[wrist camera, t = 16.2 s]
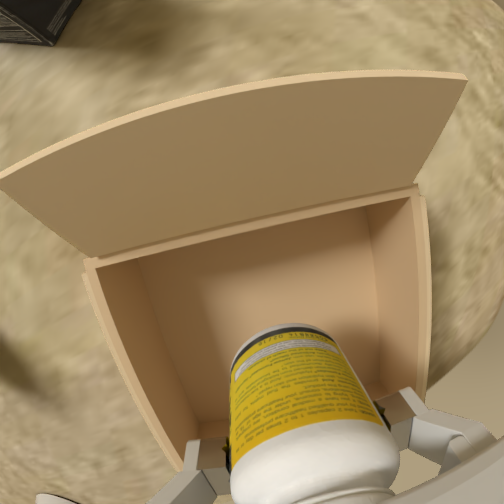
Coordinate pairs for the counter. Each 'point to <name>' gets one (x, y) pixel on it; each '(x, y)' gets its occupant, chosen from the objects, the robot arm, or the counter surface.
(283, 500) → the supplement bottle
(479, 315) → the counter surface
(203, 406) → the carton
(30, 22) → the small box
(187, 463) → the robot arm
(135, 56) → the counter surface
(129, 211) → the flap
